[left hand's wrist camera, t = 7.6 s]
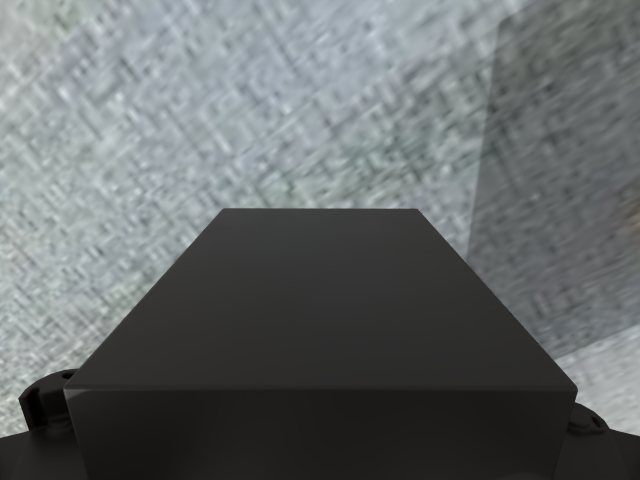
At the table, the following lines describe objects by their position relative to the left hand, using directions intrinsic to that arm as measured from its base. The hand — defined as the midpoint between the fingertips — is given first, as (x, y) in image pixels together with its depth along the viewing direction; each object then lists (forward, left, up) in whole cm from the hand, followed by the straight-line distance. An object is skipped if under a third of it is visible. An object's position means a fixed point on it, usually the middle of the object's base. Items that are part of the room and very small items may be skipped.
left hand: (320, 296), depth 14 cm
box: (+8, +2, -1) cm, 8 cm away
